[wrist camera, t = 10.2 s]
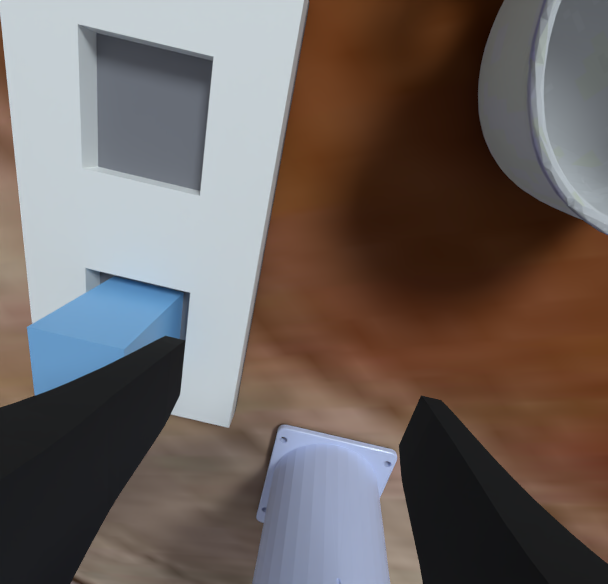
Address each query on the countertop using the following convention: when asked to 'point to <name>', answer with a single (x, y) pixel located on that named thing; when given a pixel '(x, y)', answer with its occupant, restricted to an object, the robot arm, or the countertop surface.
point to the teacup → (550, 102)
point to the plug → (100, 329)
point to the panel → (154, 159)
